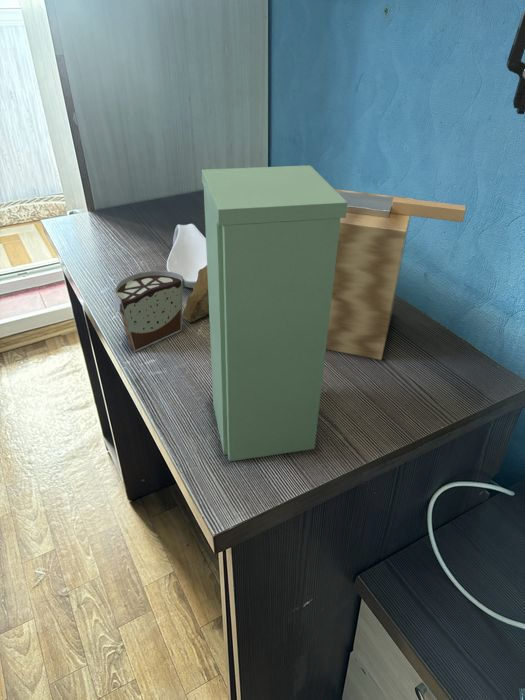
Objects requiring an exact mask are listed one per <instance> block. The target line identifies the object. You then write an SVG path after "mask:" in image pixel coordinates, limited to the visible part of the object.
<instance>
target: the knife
mask: <svg viewBox="0 0 525 700" xmlns="http://www.w3.org/2000/svg"><path fill="white" fill-rule="evenodd" d="M337 192H338V193H339V194H340V195H341V196H342V197H343V198H344V199H345V200H346V201H347V211H346V212H347V213H355V214H362V215H370V216H378V217H385V218H389V216H390V213H393V214H401V215H409V216H411V217H417V218H426V219H431V220H432V219H434V220H441V221H447V222H448V221H449V222H455V223H463V222H464V219H465V215H466V208H467V207H466V205H463V204H454V203H447V202H438V201H431V200H422V199H415V198H413V199H406V198H407V197H405V198H398V197H399V196H397V197H394V198H390V197H382V196H374V195H365V194H357V193H349V192H341V191H337Z"/></svg>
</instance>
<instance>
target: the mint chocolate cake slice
mask: <svg viewBox="0 0 525 700" xmlns="http://www.w3.org/2000/svg"><path fill="white" fill-rule="evenodd" d="M185 286H186V284H185V280H184V279H183V276H182V275H180V274H177V273H173V272H168V271H167V270H147V271H142V272H141V271H140V272H137V273H133V274H131V275H129V276H127V277H124V278H123V279H122V280H120V281H119V282H118V283H117V284H116V286H115V290H114V292H113V307H114V309H115V310H116V312H118V313H119V314H120V316H121V319H122V323H123V327H124V330H125V334H126V337H127V342H128V345H129V348H130V349H131V351H132V352H134V353H137V352H139V351H141V350H144V349H146V348H148V347H150V346H153V345H154V344H156V343H158V342H161V341H164V340H165V339H167V338H169V337H171V336H174V335H176V334H178V333H181V332H183V318H182V315H183V295H184V293H183V292H184V287H185Z"/></svg>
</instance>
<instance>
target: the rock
mask: <svg viewBox="0 0 525 700" xmlns="http://www.w3.org/2000/svg"><path fill="white" fill-rule="evenodd" d="M207 315H209V296H208V274H207V265H206V266H205V267H204V268H202V269H200V270H199V272H198V278H197V281H196V283H195V286H194V288H192V291H191V293H190V294H189V295H188V297H187V299H186V304H185V307H184V309H183V310H182V319H184V320H185V321H186V322H188V323H194V322H196V321H198V320H200V319H201V318H204V317H206V316H207Z"/></svg>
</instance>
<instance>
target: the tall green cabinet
mask: <svg viewBox="0 0 525 700" xmlns="http://www.w3.org/2000/svg"><path fill="white" fill-rule="evenodd" d="M201 183H202V186H203V202H204V205H203V206H204V224H205V225H204V227H205V238H206V251H207V274H208V296H209V314H208V315H209V337H210V339H209V340H210V362H211V384H212V385H211V386H212V403H213V404H212V405H213V410H214V411H213V412H214V415H215V420H216V424H217V429H218V434H219V439H220V444H221V449H222V453H223V455H225V456H226V455H227V458H228V461H229V462H235V461H243V460H247V459H248V460H249V459H255V458H263V457H271V456H275V455H276V456H277V455H282V454H290V453H297V452H305V451H310V450H315V449H316V441H317V431H318V423H319V422H318V421H319V414H320V413H319V412H320V403H321V398H322V397H321V395H322V389H323V386H322V385H323V379H324V369H325V360H326V351H327V349H326V344H327V335H328V326H329V317H330V308H331V300H332V291H333V282H334V273H335V264H336V255H337V247H338V238H339V229H340V220H341V218H346V211H347V201H346V200H345V199H344V198H343V197H342V196H341V195H340V194H339V193H338V192H337V191H336V190H335V189H336V188H334V187H333V186H331V184H330V183H329V182H328V181H327V180H326V179H324V177H323V176H322V175H321V174H320V173H319V172H318V171H316V169H314V167H313V166H312V165H306V164H305V165H285V166H284V165H283V166H262V167H261V166H259V167H257V166H256V167H237V168H235V167H234V168H233V167H231V168H211V169H210V168H209V169H201Z"/></svg>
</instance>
